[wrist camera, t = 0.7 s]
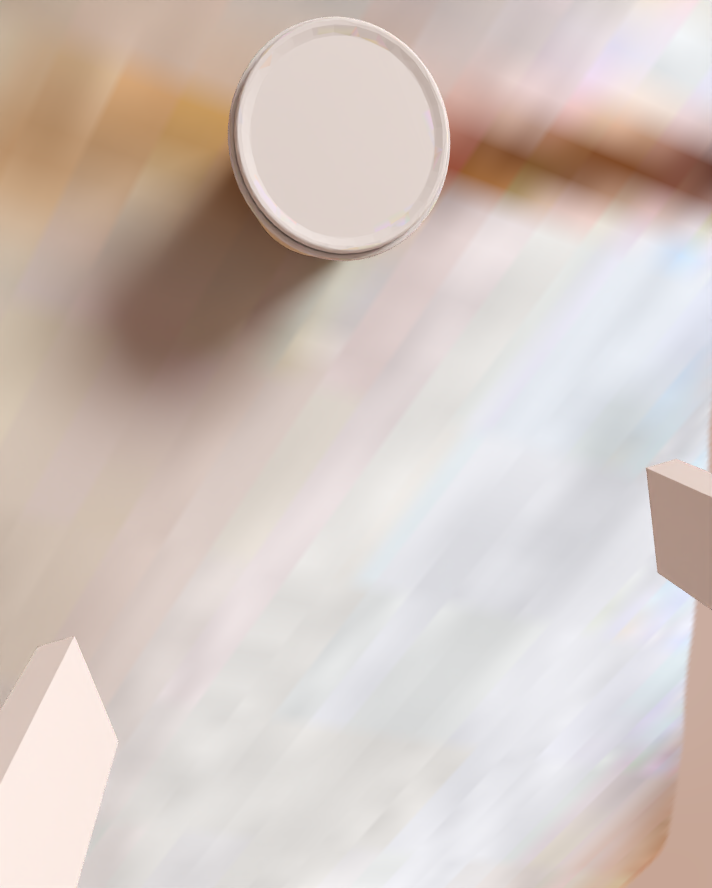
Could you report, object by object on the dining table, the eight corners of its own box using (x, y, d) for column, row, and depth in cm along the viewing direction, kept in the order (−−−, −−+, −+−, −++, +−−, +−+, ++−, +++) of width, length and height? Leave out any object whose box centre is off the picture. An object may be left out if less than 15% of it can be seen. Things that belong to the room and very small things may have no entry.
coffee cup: (352, 296, 38) (396, 297, 27) (209, 225, 36) (190, 193, 25) (418, 151, 37) (494, 87, 26) (273, 68, 35) (286, -43, 23)
